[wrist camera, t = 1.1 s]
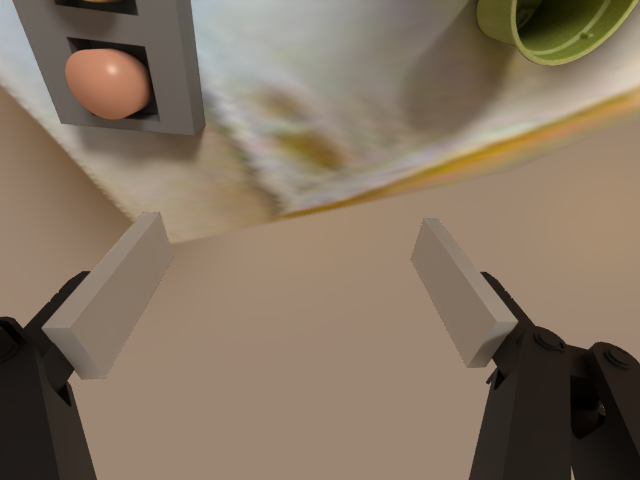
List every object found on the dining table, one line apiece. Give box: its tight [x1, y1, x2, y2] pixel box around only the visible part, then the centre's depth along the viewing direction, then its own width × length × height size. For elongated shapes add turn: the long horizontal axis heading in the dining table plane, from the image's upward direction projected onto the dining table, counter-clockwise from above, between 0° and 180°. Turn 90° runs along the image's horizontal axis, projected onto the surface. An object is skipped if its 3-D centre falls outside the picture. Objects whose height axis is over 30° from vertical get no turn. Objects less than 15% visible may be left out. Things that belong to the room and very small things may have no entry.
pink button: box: [65, 48, 154, 120], centre depth 25 cm, size 5×5×4 cm
